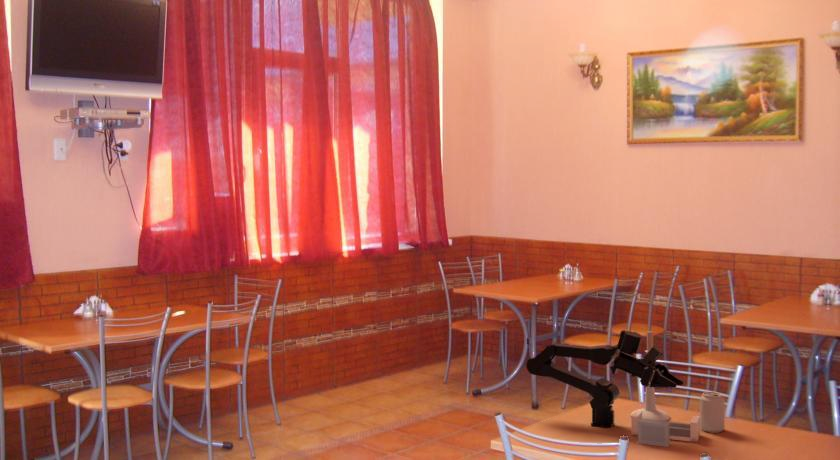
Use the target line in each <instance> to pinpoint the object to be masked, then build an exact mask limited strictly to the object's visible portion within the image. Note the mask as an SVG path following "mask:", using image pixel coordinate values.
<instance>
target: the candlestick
mask: <svg viewBox="0 0 840 460" xmlns="http://www.w3.org/2000/svg"><path fill="white" fill-rule="evenodd" d="M652 347H654V331H651V330H647V331H646V350H644V352H645V353H646V354H647V353H648V351H650V349H651V348H652ZM646 354H645V355H646ZM650 383H651V382H649V384H650ZM644 394H645V395H644V396H645V397H644V406H643V407H644V408H643V407H642V408H638V409H635V410H634V411H632V412H631V413H630V417H631V416H632V415H633V413H634V412H635V411H636V410H641V411H642V419H648V420H658V421H667V422H668V421H669V420H670V415H669V414H668V413H667V412H665V411H664V410H662V409H658V408H657V407H656V395H655V394H656V391H655V387H650V386H649V387H646V386H645V393H644Z"/></svg>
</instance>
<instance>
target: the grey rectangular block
mask: <svg viewBox="0 0 840 460" xmlns="http://www.w3.org/2000/svg"><path fill="white" fill-rule="evenodd" d="M670 422H671V421H667V422H666V421H657V420H647V419H639V420H638V435H637V444H638V445H639V444H641V445H649V446H656V447H657V446H658V447H666V448H668V447H669V446H670V440H671V439H670Z"/></svg>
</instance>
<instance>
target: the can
mask: <svg viewBox="0 0 840 460" xmlns="http://www.w3.org/2000/svg"><path fill="white" fill-rule="evenodd" d="M725 403H726V400H725V398H724V397H723V393H720V392H717V391H704V392H703V393H701V396H700V400H699V408H700V409H699V416H700V429H702V431H704V432H706V433H713V434H714V433H715V434H717V433H718V434H719V433H722V432H723V431H724V430H725V426H726V425H725V419H726V418H725V416H726V415H725V413H726V411H725V410H726V408H725V406H726V405H725Z"/></svg>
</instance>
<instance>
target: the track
mask: <svg viewBox="0 0 840 460" xmlns="http://www.w3.org/2000/svg"><path fill="white" fill-rule="evenodd" d="M635 410H636V411H635ZM635 410H634V411H635V412H634V413H633V415H632V416H631V415H630V417H631V418H630V419H631V420H630V423H631V424H630V425H631V426H630V429H631V430H630V432H631V435H632V436H638V420H639V419H642V411H641V410H638V409H635ZM647 420H648V419H647ZM657 421H658V420H657ZM666 422H668V420H667V421H666ZM669 422H670V440H675V441H676V440H677V441H684V442H692V443H693V442H694V443H697V442H698V441H699V438H700V436H701V427H700V415H693V416H692V418H691V420H690V423H686V422H685V423H684V422H675V421H669Z"/></svg>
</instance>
